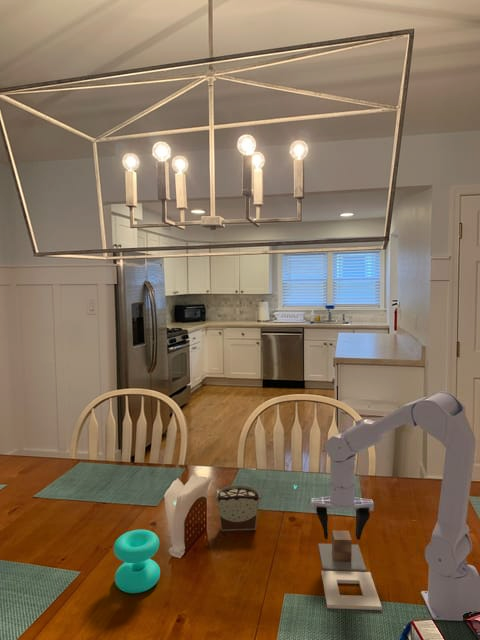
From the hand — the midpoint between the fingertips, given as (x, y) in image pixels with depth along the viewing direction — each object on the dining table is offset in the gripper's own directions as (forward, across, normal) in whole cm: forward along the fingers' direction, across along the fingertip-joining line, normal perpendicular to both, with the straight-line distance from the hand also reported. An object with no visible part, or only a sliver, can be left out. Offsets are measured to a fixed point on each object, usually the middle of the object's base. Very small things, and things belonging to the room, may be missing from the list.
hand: (341, 537), depth 113 cm
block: (+5, 0, 0) cm, 5 cm away
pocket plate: (+5, 0, +12) cm, 13 cm away
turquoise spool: (+5, +47, +11) cm, 49 cm away
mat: (+5, 0, 0) cm, 5 cm away
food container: (+5, +26, -14) cm, 30 cm away
